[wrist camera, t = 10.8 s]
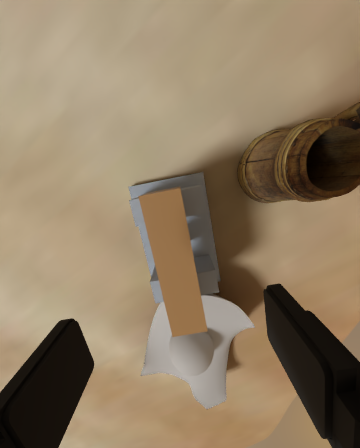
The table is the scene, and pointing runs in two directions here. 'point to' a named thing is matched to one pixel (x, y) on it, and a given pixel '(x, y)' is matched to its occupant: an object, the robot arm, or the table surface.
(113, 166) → the table surface
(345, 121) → the wooden mug
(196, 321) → the tan wooden plank
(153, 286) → the display stand
